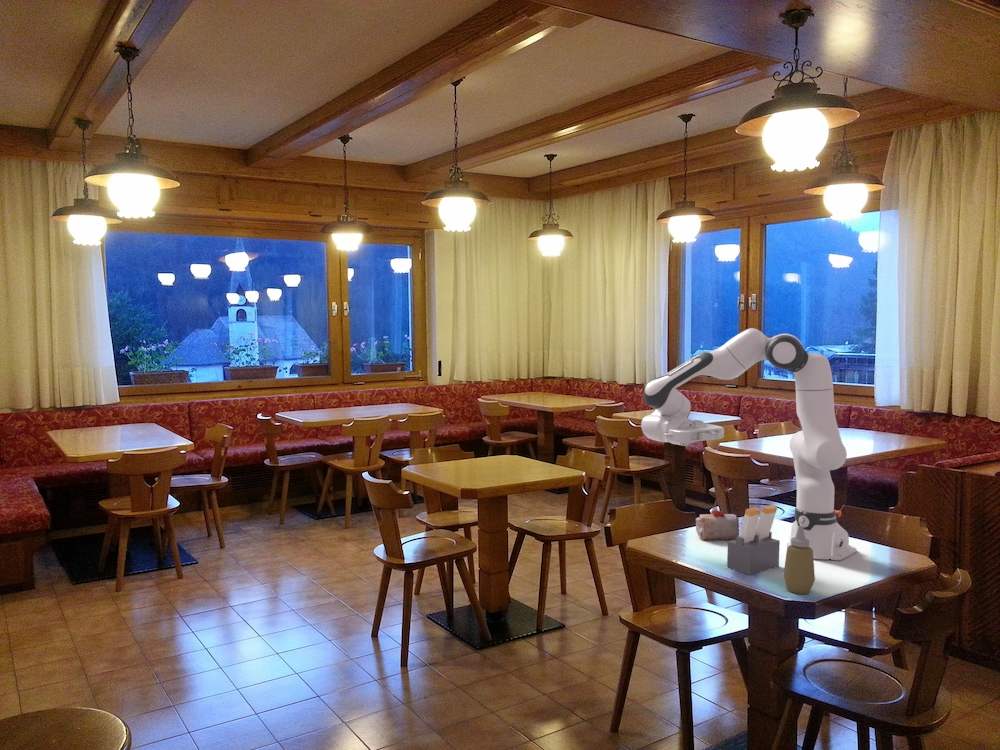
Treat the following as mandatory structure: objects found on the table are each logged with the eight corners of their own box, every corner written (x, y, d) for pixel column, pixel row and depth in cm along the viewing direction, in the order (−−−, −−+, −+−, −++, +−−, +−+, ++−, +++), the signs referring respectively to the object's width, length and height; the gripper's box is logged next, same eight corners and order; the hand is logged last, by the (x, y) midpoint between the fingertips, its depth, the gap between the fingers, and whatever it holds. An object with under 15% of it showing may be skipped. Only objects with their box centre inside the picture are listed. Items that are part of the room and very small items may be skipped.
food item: (699, 541, 257) (700, 513, 256) (694, 535, 265) (694, 507, 264) (740, 542, 256) (741, 513, 256) (733, 535, 264) (734, 507, 264)
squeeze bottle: (819, 590, 209) (821, 526, 208) (807, 598, 204) (809, 531, 202) (789, 583, 215) (792, 520, 214) (778, 590, 209) (780, 526, 208)
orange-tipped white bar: (763, 533, 233) (772, 504, 230) (768, 536, 232) (777, 507, 229) (754, 536, 230) (762, 506, 228) (759, 539, 229) (767, 509, 226)
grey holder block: (756, 559, 237) (757, 528, 236) (778, 566, 230) (779, 533, 230) (727, 567, 229) (727, 534, 228) (749, 574, 222) (750, 541, 222)
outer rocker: (748, 537, 229) (755, 507, 227) (753, 540, 228) (760, 509, 225) (738, 540, 226) (745, 509, 224) (743, 542, 225) (750, 511, 223)
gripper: (660, 424, 242) (694, 429, 231) (703, 420, 254) (737, 424, 242) (659, 444, 242) (693, 450, 231) (702, 438, 254) (737, 444, 243)
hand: (716, 437), depth 237 cm, fingers closed
